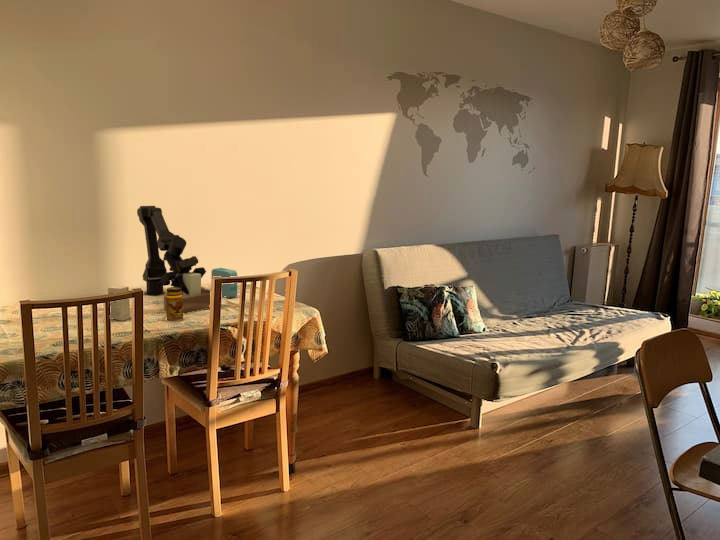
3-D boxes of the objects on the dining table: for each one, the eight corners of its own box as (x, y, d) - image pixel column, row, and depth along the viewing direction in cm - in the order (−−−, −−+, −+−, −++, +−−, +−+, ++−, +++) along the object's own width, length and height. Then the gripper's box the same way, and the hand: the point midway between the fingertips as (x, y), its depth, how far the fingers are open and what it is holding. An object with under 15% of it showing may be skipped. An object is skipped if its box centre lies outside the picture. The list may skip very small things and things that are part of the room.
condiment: (176, 322, 217) (176, 290, 215) (157, 320, 219) (156, 288, 217) (188, 317, 224) (187, 287, 221) (169, 315, 226) (168, 285, 224)
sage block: (182, 307, 238) (182, 273, 235) (192, 305, 242) (192, 272, 239) (190, 309, 235) (190, 275, 233) (200, 307, 239) (201, 274, 237)
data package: (237, 297, 260) (237, 270, 258) (229, 298, 257) (229, 272, 255) (219, 293, 267) (219, 267, 265) (211, 294, 263) (211, 268, 261)
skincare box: (130, 318, 220) (129, 286, 218) (122, 321, 216) (121, 288, 214) (116, 316, 222) (115, 284, 220) (108, 319, 218) (107, 286, 216)
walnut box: (164, 310, 234) (163, 295, 233) (202, 302, 249) (202, 288, 248) (180, 314, 228) (180, 299, 227) (218, 306, 243) (218, 291, 242)
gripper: (165, 252, 229) (183, 284, 225) (203, 248, 244) (221, 277, 240) (153, 269, 235) (171, 300, 231) (191, 264, 250) (208, 293, 246)
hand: (193, 292), depth 236 cm, fingers closed on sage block, 5 cm apart
